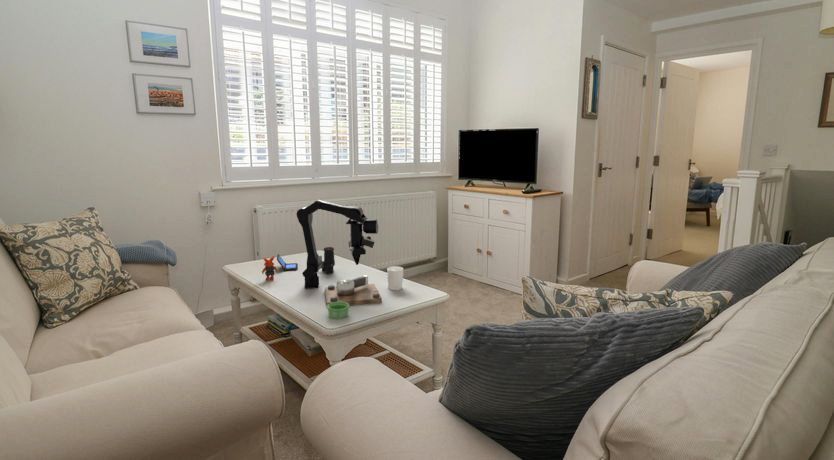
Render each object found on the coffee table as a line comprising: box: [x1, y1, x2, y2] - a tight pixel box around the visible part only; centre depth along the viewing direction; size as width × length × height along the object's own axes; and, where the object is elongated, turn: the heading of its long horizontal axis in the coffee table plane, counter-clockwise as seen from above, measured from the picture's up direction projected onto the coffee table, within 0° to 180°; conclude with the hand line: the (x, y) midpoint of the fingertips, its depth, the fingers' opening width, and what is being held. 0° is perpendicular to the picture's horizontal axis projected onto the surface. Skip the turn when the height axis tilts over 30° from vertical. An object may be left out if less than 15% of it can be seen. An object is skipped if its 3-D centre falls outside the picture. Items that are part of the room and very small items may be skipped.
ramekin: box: [326, 302, 350, 320], centre depth 188 cm, size 9×9×4 cm
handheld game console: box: [276, 253, 299, 272], centre depth 254 cm, size 12×11×7 cm
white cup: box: [386, 265, 404, 291], centre depth 221 cm, size 8×8×10 cm
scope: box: [321, 246, 336, 275], centre depth 246 cm, size 8×14×10 cm
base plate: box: [324, 283, 383, 306], centre depth 209 cm, size 24×21×3 cm
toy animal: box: [261, 256, 278, 282], centre depth 234 cm, size 8×6×12 cm
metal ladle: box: [336, 274, 369, 296], centre depth 211 cm, size 17×8×6 cm, turn 139°
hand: (357, 264), depth 219 cm, fingers closed
